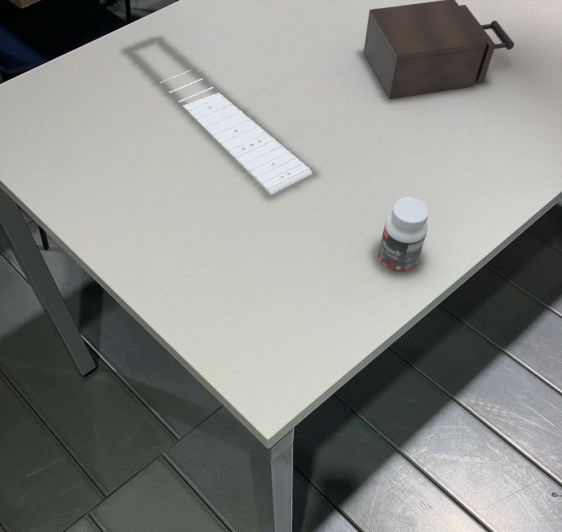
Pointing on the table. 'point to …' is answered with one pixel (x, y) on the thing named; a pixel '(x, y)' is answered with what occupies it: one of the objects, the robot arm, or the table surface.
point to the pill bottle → (404, 235)
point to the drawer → (488, 42)
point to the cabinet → (423, 48)
